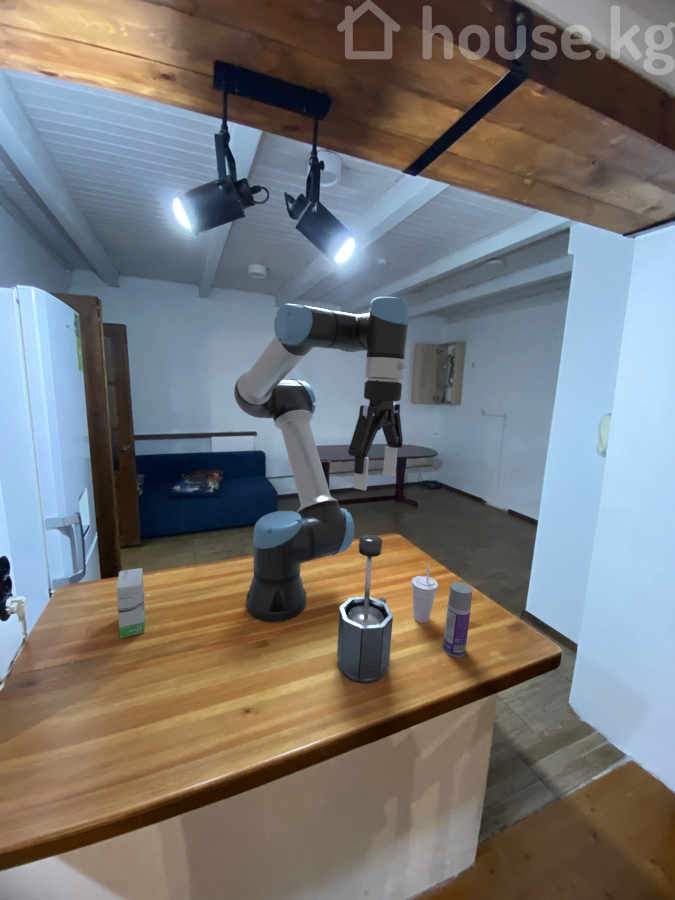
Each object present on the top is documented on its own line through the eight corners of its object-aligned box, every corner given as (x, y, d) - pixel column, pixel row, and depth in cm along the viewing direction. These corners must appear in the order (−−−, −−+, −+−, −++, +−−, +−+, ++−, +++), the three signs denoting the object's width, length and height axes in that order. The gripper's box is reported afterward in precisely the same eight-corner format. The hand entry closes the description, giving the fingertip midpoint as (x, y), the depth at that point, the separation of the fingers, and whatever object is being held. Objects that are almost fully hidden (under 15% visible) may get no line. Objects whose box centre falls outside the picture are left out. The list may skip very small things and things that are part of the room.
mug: (328, 667, 74) (331, 613, 71) (360, 633, 84) (363, 586, 82) (371, 692, 68) (376, 635, 66) (400, 652, 79) (405, 602, 76)
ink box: (144, 633, 81) (142, 584, 79) (119, 639, 79) (115, 589, 76) (145, 611, 88) (142, 566, 86) (121, 616, 86) (118, 570, 84)
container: (466, 646, 82) (473, 585, 79) (463, 660, 77) (472, 596, 75) (444, 639, 83) (451, 579, 81) (441, 652, 79) (448, 589, 76)
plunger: (340, 621, 72) (344, 540, 69) (359, 604, 78) (364, 529, 75) (372, 637, 68) (378, 551, 65) (389, 617, 74) (396, 538, 71)
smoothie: (435, 628, 87) (441, 574, 84) (407, 623, 88) (412, 570, 86) (433, 612, 93) (439, 561, 91) (408, 608, 94) (412, 558, 92)
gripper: (371, 380, 61) (362, 500, 65) (423, 382, 82) (413, 473, 86) (333, 377, 65) (327, 491, 69) (392, 380, 86) (384, 467, 90)
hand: (375, 481), depth 78 cm, fingers open, 13 cm apart
